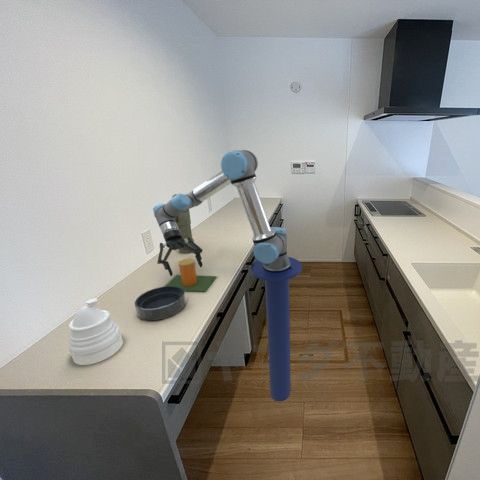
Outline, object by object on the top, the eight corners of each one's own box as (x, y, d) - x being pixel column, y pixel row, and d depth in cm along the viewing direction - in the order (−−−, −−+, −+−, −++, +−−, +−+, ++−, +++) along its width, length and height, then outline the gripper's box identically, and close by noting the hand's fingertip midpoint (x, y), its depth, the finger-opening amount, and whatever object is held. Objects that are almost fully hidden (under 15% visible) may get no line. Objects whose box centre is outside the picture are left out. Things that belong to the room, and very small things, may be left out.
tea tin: (200, 279, 129) (197, 258, 126) (193, 286, 123) (190, 265, 119) (186, 278, 129) (182, 258, 125) (179, 286, 123) (175, 264, 119)
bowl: (193, 297, 116) (191, 286, 114) (172, 322, 100) (170, 310, 98) (154, 296, 116) (151, 285, 114) (127, 321, 100) (124, 309, 98)
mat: (216, 277, 133) (216, 276, 133) (205, 292, 120) (204, 291, 120) (177, 276, 133) (176, 275, 133) (161, 290, 120) (161, 289, 120)
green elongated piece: (199, 247, 168) (191, 193, 155) (188, 255, 157) (179, 197, 144) (186, 246, 169) (177, 192, 156) (174, 254, 158) (164, 196, 145)
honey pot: (119, 330, 95) (107, 287, 88) (126, 350, 86) (112, 304, 80) (71, 348, 86) (54, 301, 80) (73, 372, 78) (54, 322, 71)
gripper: (195, 231, 141) (210, 265, 136) (141, 242, 124) (157, 281, 119) (198, 224, 135) (214, 259, 131) (142, 234, 119) (158, 275, 114)
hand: (187, 270), depth 125 cm, fingers open, 13 cm apart
